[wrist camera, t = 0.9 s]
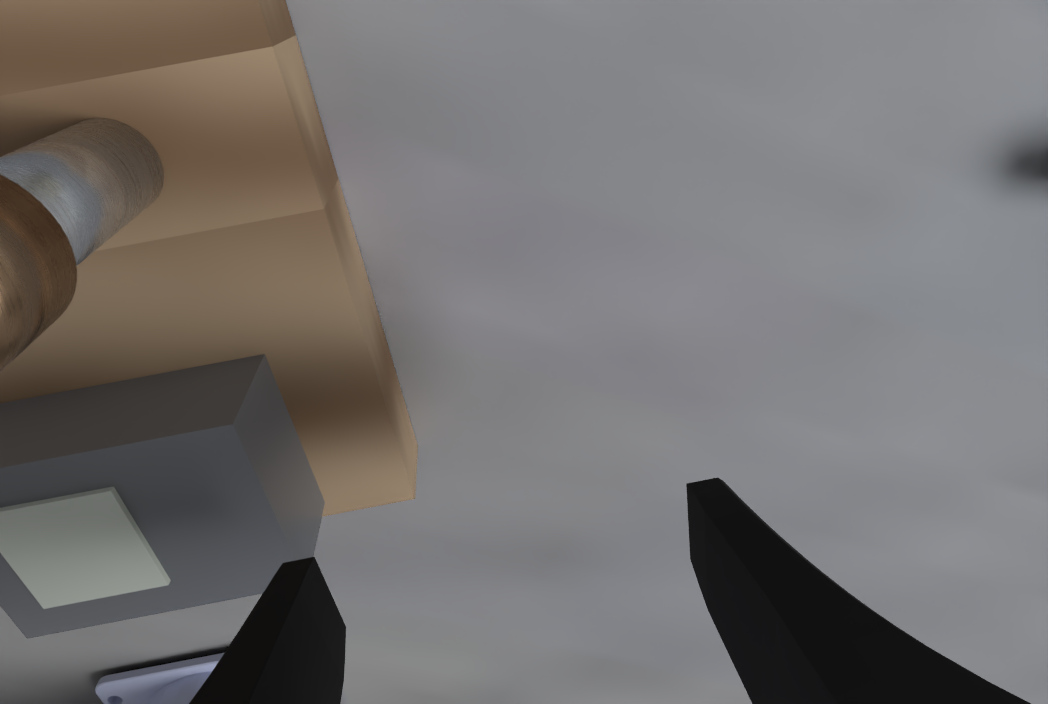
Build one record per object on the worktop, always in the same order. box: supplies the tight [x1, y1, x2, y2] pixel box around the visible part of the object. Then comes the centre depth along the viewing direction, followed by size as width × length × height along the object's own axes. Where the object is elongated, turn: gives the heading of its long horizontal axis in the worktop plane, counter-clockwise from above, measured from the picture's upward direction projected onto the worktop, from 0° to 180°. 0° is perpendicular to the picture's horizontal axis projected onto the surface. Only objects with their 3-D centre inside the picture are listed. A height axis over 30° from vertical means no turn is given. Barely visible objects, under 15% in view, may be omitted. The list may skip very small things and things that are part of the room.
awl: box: [0, 118, 164, 372], centre depth 11 cm, size 3×3×7 cm
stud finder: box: [0, 354, 325, 638], centre depth 17 cm, size 5×7×3 cm
